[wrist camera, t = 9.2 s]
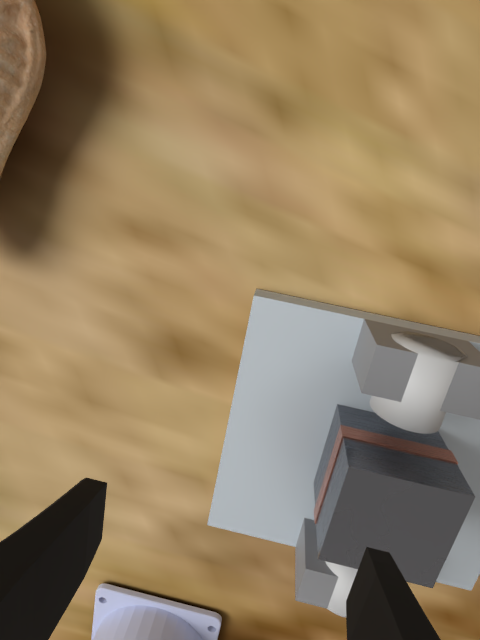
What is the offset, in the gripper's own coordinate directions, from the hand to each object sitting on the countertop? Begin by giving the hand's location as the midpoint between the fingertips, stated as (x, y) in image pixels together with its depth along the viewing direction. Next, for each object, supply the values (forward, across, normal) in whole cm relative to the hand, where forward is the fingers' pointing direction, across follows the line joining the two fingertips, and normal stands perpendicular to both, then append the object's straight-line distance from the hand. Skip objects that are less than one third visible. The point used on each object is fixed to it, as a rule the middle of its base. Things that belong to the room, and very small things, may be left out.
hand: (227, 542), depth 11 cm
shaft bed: (+10, -6, +2) cm, 12 cm away
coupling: (+9, -6, +2) cm, 11 cm away
